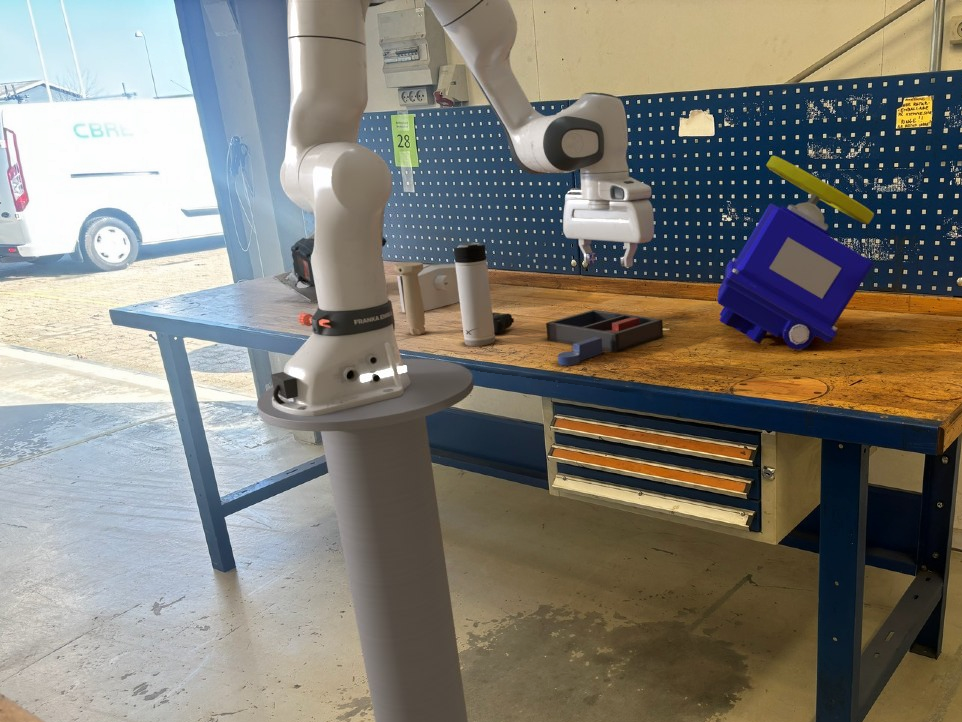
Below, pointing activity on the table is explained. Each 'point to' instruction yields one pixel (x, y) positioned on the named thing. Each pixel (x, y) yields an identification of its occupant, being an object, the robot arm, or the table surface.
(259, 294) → the table surface
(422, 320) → the handle
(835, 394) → the table surface
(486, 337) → the travel mug
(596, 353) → the blue stepped block
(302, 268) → the circular saw
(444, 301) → the lock
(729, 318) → the control box
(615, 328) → the red stepped block
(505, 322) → the tape measure
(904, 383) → the table surface
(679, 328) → the table surface
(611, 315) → the sorting tray
